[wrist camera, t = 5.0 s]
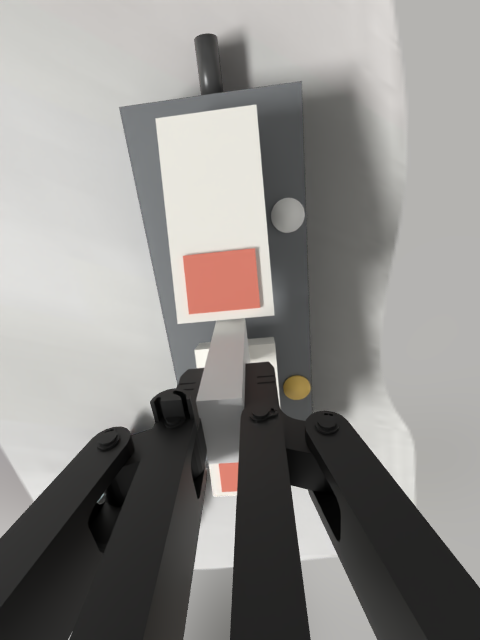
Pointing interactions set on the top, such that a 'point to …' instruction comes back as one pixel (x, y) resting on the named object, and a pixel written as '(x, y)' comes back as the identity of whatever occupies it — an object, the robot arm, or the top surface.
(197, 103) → the rocker switch box
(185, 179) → the rocker white
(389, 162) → the top surface
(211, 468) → the white switch paddle
